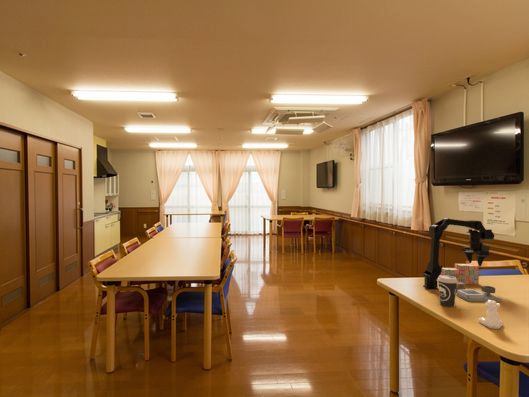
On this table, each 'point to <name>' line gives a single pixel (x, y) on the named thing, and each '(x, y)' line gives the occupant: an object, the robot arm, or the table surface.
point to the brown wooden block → (460, 286)
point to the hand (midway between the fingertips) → (475, 264)
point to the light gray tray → (476, 295)
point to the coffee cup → (447, 290)
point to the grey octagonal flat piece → (488, 289)
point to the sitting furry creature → (491, 315)
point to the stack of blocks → (463, 273)
